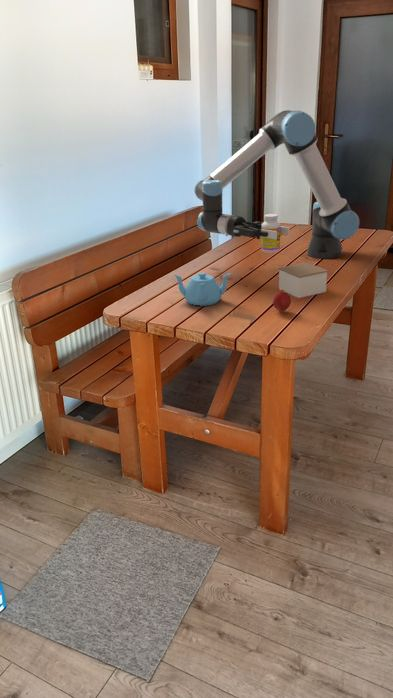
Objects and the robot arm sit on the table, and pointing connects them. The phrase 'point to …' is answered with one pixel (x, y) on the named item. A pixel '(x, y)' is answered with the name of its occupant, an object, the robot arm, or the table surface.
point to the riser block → (302, 279)
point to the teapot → (202, 289)
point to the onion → (281, 301)
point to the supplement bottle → (273, 225)
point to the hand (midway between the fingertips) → (282, 233)
